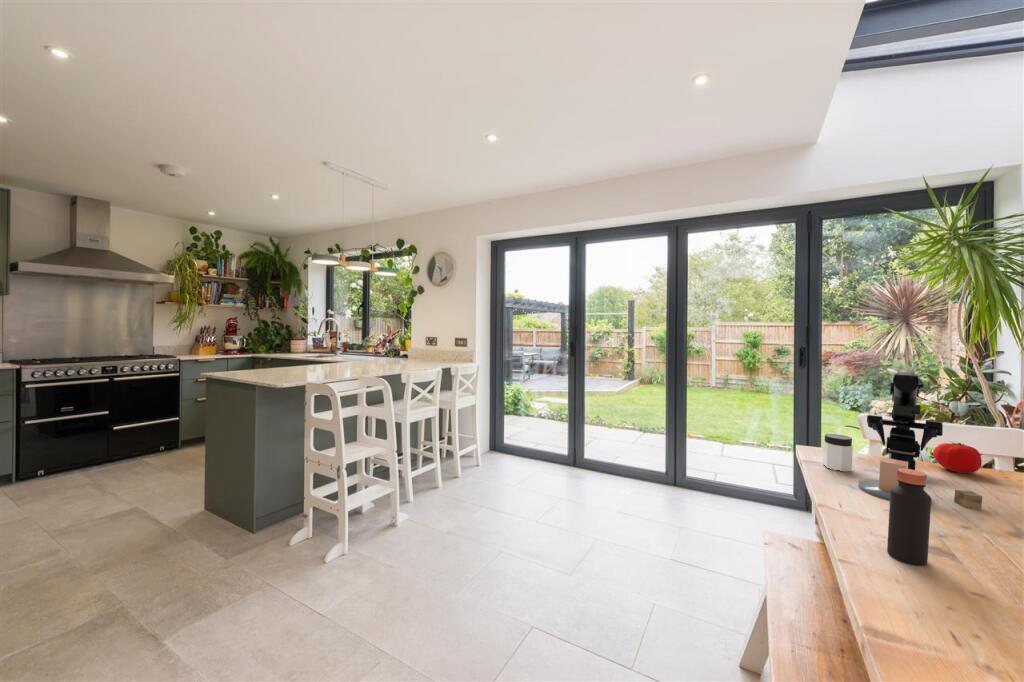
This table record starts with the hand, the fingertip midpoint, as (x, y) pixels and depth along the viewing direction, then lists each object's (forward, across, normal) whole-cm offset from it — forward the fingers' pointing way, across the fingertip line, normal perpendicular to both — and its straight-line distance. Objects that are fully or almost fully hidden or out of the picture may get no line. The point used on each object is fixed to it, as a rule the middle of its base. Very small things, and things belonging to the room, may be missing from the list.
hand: (902, 447), depth 140 cm
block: (+14, +15, +3) cm, 21 cm away
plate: (+16, -2, -1) cm, 16 cm away
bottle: (+45, +4, -40) cm, 61 cm away
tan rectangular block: (+15, -2, -1) cm, 15 cm away
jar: (+7, -18, +12) cm, 23 cm away
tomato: (-10, +13, +38) cm, 42 cm away
